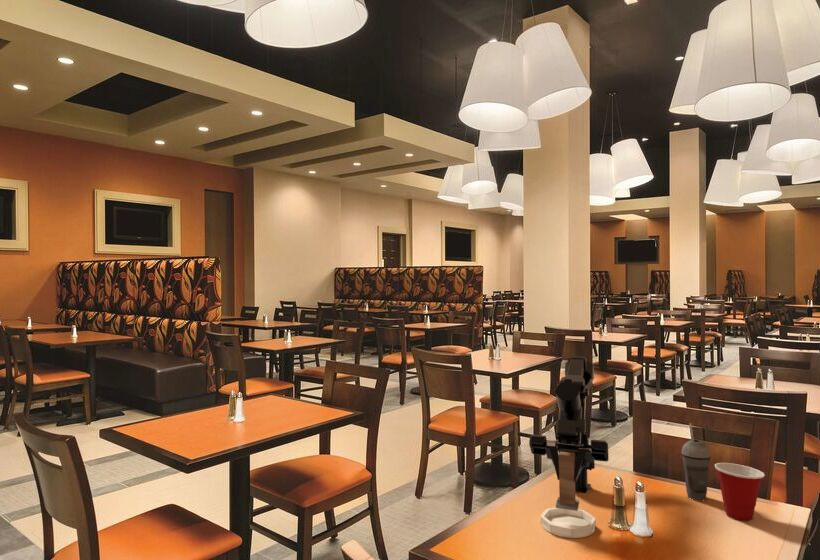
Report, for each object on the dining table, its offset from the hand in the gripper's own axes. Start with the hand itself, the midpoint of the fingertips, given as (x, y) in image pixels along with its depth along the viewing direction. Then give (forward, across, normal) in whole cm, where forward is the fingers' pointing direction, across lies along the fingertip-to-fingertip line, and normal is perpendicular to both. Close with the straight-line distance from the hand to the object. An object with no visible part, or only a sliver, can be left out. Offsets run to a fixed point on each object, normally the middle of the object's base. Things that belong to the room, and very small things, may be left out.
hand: (566, 480), depth 132 cm
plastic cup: (-7, +40, +24) cm, 47 cm away
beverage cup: (-13, +31, +30) cm, 45 cm away
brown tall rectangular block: (+4, 0, +6) cm, 7 cm away
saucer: (+7, 0, +9) cm, 12 cm away
